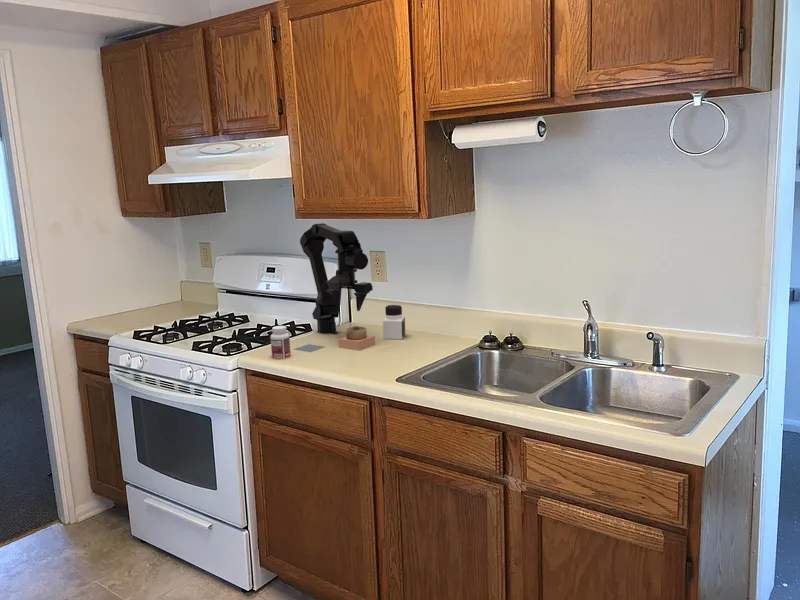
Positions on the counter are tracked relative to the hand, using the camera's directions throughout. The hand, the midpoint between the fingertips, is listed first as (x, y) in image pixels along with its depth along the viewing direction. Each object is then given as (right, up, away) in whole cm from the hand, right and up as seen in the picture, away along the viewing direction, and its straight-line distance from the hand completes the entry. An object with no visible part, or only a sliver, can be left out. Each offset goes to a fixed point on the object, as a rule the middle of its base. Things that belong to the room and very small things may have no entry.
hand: (348, 309), depth 252 cm
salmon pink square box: (+4, -13, -7) cm, 16 cm away
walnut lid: (+3, -10, -8) cm, 13 cm away
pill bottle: (-21, -17, -18) cm, 32 cm away
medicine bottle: (+17, -10, +8) cm, 21 cm away
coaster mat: (-13, -14, -8) cm, 21 cm away
